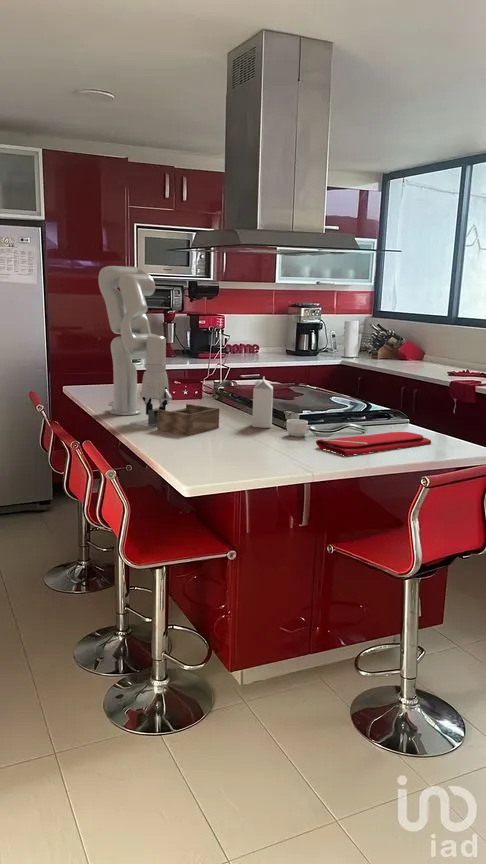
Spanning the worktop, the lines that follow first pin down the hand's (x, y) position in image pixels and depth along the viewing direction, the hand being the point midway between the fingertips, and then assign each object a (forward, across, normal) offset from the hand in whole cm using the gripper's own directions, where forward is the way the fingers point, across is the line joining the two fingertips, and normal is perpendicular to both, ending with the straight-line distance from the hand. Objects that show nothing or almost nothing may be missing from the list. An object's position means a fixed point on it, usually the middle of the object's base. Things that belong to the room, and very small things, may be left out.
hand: (155, 414), depth 266 cm
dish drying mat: (+4, +82, +20) cm, 84 cm away
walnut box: (+3, +16, 0) cm, 16 cm away
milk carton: (+4, +34, +23) cm, 41 cm away
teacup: (+4, +54, +16) cm, 56 cm away
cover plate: (+4, 0, 0) cm, 4 cm away
